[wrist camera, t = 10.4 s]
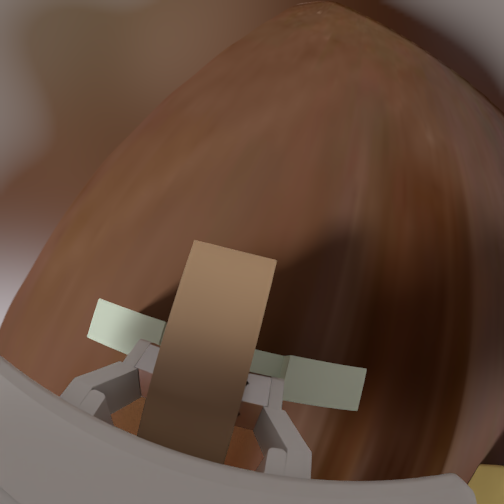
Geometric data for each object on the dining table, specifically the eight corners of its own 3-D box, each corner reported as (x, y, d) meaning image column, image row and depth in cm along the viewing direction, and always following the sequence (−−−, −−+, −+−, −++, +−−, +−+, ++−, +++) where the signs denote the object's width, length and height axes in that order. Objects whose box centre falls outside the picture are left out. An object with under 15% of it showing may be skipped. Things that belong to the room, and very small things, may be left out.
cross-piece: (213, 289, 17) (194, 239, 10) (263, 302, 17) (276, 260, 10) (176, 419, 14) (132, 452, 7) (228, 434, 14) (218, 481, 7)
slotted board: (133, 315, 21) (99, 298, 16) (335, 368, 20) (366, 368, 14) (124, 345, 20) (87, 336, 15) (328, 399, 19) (357, 411, 14)
